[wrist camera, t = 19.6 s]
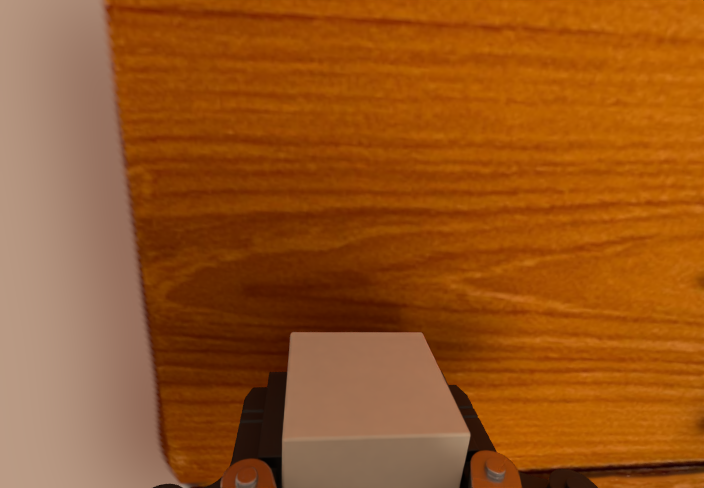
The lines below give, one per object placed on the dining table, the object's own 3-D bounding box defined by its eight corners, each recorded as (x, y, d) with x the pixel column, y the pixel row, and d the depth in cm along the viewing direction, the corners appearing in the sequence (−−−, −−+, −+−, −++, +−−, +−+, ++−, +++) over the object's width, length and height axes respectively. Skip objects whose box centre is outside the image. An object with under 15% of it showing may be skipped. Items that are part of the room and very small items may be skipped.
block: (408, 432, 16) (445, 560, 11) (288, 436, 15) (280, 571, 11) (422, 331, 14) (472, 434, 10) (290, 331, 14) (282, 440, 9)
